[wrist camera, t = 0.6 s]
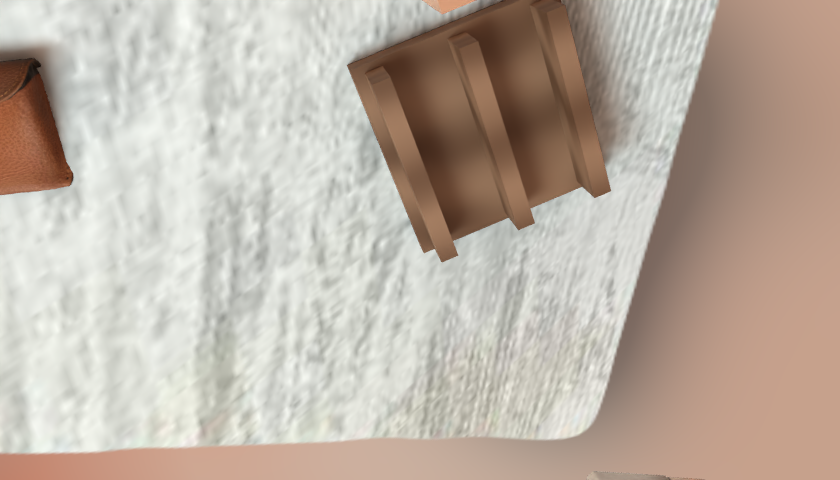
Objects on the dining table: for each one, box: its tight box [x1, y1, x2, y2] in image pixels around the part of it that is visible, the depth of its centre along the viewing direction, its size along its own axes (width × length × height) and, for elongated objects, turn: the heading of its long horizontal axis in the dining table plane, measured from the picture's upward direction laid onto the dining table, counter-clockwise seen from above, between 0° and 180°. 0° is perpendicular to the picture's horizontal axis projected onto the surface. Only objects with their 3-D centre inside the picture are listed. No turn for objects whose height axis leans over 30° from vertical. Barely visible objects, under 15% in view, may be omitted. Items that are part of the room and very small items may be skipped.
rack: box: [347, 0, 611, 262], centre depth 49 cm, size 14×14×4 cm
